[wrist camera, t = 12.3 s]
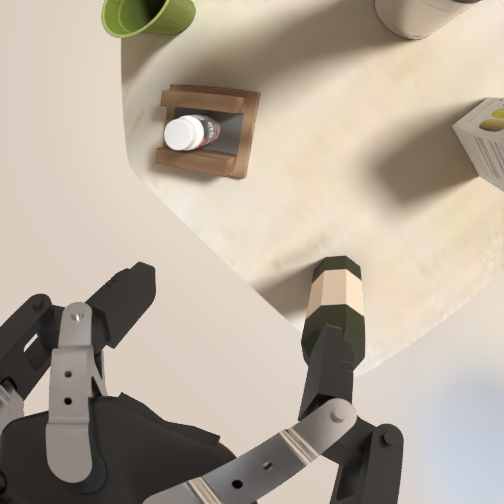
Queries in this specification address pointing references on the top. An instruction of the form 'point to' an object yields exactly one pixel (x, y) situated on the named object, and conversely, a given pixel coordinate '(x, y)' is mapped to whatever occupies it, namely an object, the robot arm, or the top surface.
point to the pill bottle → (191, 132)
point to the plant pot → (146, 17)
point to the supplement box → (485, 139)
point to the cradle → (230, 122)
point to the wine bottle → (336, 305)
